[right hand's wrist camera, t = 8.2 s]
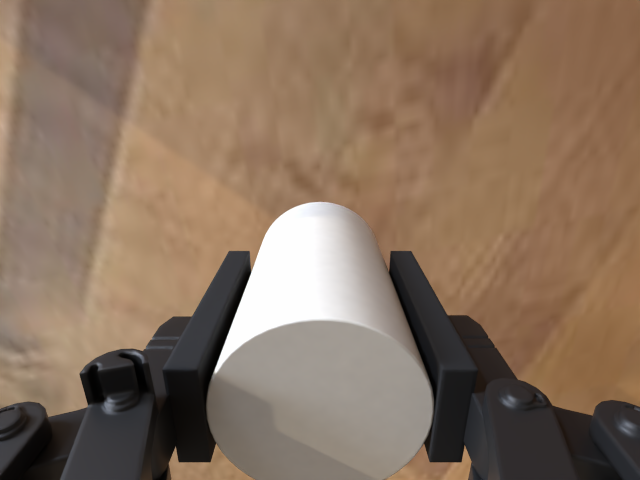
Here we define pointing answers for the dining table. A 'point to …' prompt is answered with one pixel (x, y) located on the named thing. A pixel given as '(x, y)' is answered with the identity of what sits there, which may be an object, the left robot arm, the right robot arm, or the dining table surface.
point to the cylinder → (320, 358)
